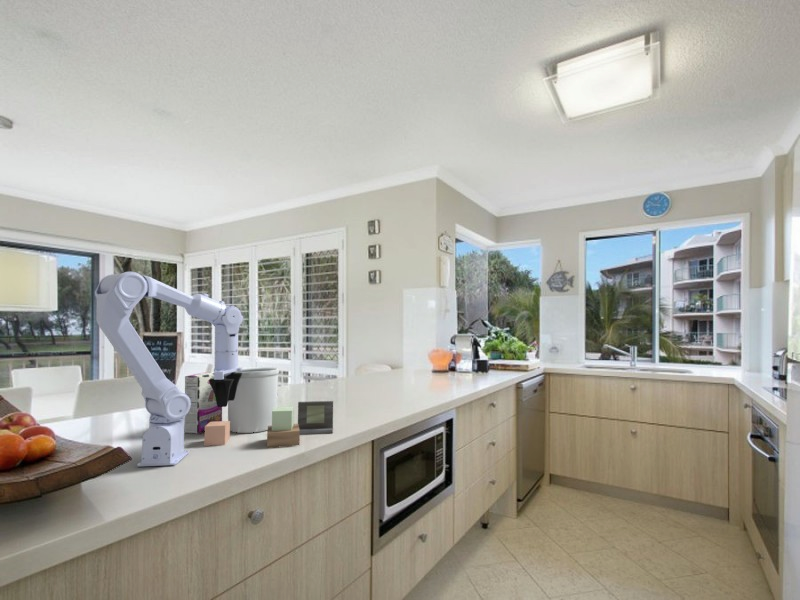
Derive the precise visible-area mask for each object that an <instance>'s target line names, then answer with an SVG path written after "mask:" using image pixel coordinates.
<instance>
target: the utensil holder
mask: <svg viewBox="0 0 800 600" xmlns="http://www.w3.org/2000/svg"><path fill="white" fill-rule="evenodd" d="M235 373H242V376H241V378H240V380H239V383H238V386H237V390H236V395H235V399H234V400H233V401H228V404H227V419H228V420H227V421H230V432H232V433H236V432H237V433H238V434H250V433H253V432H254V433H260V432H261V433H262V432H266V431H268V426H270V425H272V411H273V409H274V408H275V407H278V397H279V396H278V391H279V373H280V368H279V367H273V366H256V367H255V366H253V367H251V366H250V367H243V370H242V371H237V372H235ZM254 433H253V434H254Z"/></svg>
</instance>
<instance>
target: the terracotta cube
mask: <svg viewBox="0 0 800 600" xmlns="http://www.w3.org/2000/svg"><path fill="white" fill-rule="evenodd" d="M230 435H231V431H230V421H228V420H227V421H226V420H225V421H223V420H222V421H219V422H210V423H208V424H207V425H206V426H205V432H204V439H203V440H204V441H203V443H204V444H203V445H204V446H205V447H207V446H210V445H212V446H225V445H226V444H227V443H228V442H229V441H230V440H229V439H230V438H231V437H230ZM228 440H229V441H228Z"/></svg>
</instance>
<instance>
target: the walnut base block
mask: <svg viewBox="0 0 800 600" xmlns="http://www.w3.org/2000/svg"><path fill="white" fill-rule="evenodd" d="M266 431H267V434H266V435H267V436H266V448H267V447H273V448H280V447H279V446H286V447H293V446H292V445H299V446H300V445H301V444H300V441H301V440H300V439H301V438H300V435H301V434H300V430H299V425H298V423H294V425H293V428H292V430H282V431H272V425H270V426H268V430H266Z"/></svg>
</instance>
